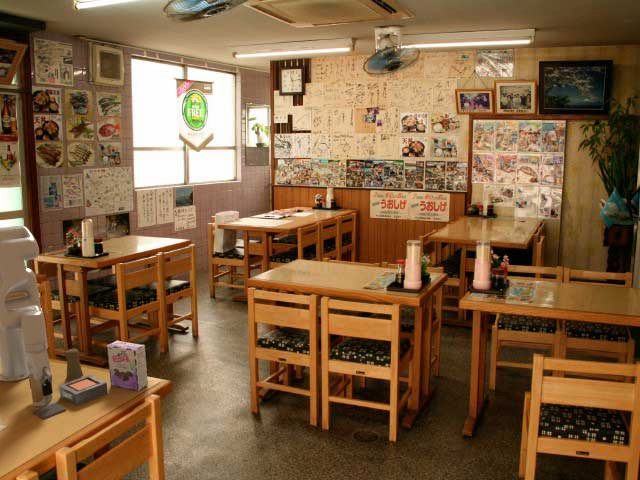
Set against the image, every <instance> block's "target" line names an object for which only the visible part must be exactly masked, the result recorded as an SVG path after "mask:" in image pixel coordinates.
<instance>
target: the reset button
mask: <svg viewBox="0 0 640 480" xmlns="http://www.w3.org/2000/svg"><path fill="white" fill-rule="evenodd" d="M94 385H97V384H96V383H94V382H92V381H90V380H88V379H86V380H83V381H80V382H78V383H75V384H72V385H69V388H71V389H73V390H75V391H77V392H78V391H81V390H84V389H86V388H89V387H92V386H94Z"/></svg>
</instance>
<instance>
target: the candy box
mask: <svg viewBox="0 0 640 480" xmlns="http://www.w3.org/2000/svg"><path fill="white" fill-rule="evenodd" d="M106 349H107V350H106V351H107V359H108V368H109V370H108V371H109V380H110V386H111V387H115V386H116V387H117V388H120V387H121V389H124V388H126V389H125V390H129V389H130V390H131V391H134V390H135V392H139V391H142V390H143V389H145V388H147V387H148V386H149V383H148V370H147V358H146V355H147V354H146V345H145V344H139V343H133V342H126V341H120V340H116V341H114V342H113V341H112V343H109V344H106ZM116 387H115V388H116Z"/></svg>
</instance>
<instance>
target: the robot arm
mask: <svg viewBox="0 0 640 480" xmlns="http://www.w3.org/2000/svg"><path fill="white" fill-rule="evenodd" d="M39 255H40V248H39V245H38V242H37V239H36V238H35V236H34V235H33V234H32V233H31V231H30V230H29V229H28V227H26V226H24V225H14V226H13V225H12V226H6V227H5V226H4V227H0V366H1V372H0V381H1V382H6V383H7V382H10V383H11V382H17V381H22V380H25V379H26V378H28V383H30V377H29V374H30V373H31V374H33V378H34V379H35V380H40V379H41V381H42V384H43V385H42V390H43V396H47V395H50V394H52V395H53V385H52V384H53V374H52V371H51V364H50V359H49V354H48V348H49V347H48V338H47V330H46V322H45V315H44V312H43V309H42V307H41V306H42V305H41V300H40V293H39V288H38V281H37V277H36V274H35V273H34V271H33V270H32V269H31V268H28V267H27V266H26V263H25V261H30V260H36V259H37V258H38V257H39ZM23 293H24V295H21V296H15V297H10V298H7V296H12V295H17V294H23ZM44 375H46V376H44ZM42 376H43V377H42ZM45 378H47V379H46V380H45V381H44V379H45ZM29 386H30V387H29V388H30V389H31V385H30V384H29Z"/></svg>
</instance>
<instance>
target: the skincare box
mask: <svg viewBox="0 0 640 480" xmlns="http://www.w3.org/2000/svg"><path fill="white" fill-rule="evenodd" d="M44 376H46V375H44ZM29 377H30V378H29ZM29 377H28V378H29V379H30V382H29V386H30V385H31V388H30V391H31V397H32V406H34V407H45V406H47V404H48V403H50V401H52V399H53V393H52V394H50V395H47V396H43V390H42V385H43V384H42V381H41V379H40V380H35V379H34V378H33V374H31V373H30V374H29ZM42 377H43V376H42ZM46 379H47V378H45V379H44V381H45V380H46Z"/></svg>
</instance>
